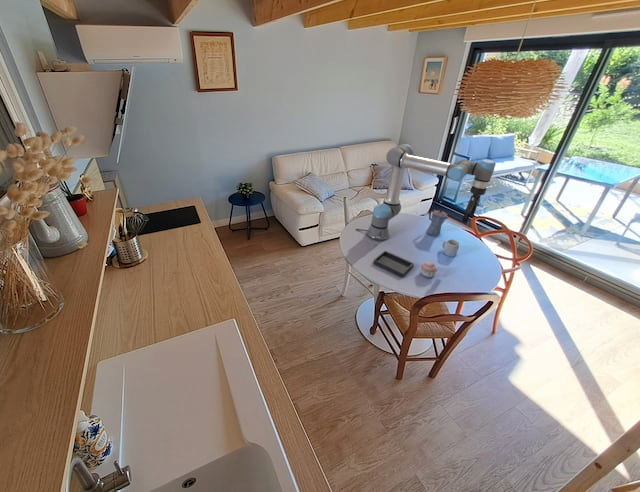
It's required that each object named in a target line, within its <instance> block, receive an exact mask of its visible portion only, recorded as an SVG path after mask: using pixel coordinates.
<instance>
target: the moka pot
mask: <svg viewBox="0 0 640 492" xmlns="http://www.w3.org/2000/svg"><path fill="white" fill-rule="evenodd" d="M431 213H432V215H431ZM448 219H449V218H448V213H446V212H445V211H443V210H442V209H440V210H437V209H434V208H433V207H432V208H430V209H429V210H428V220H429V221H430V223H429V226H428V228H427V230H426V233H427V234H428V235H430V236H433V237H438V236H440V235H441V231H442V226H443V224H444V222H445V221H446V220H448Z"/></svg>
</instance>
